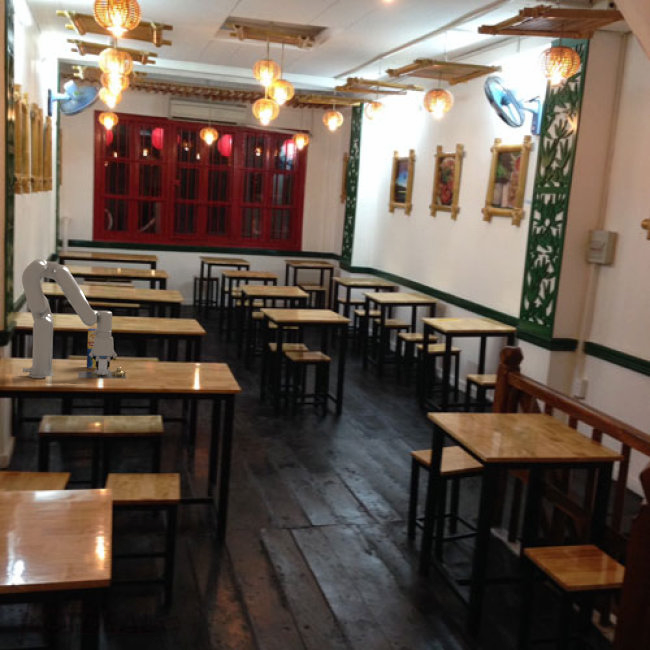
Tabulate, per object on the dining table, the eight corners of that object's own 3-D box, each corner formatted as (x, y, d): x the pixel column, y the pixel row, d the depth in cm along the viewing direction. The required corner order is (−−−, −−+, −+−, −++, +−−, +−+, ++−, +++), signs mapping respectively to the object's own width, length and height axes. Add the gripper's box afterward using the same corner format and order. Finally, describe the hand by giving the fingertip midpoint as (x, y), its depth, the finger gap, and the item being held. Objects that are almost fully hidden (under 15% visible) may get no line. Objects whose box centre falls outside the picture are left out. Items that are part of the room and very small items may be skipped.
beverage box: (107, 370, 425) (109, 331, 423) (86, 370, 423) (88, 330, 420) (107, 368, 432) (109, 329, 429) (87, 367, 429) (88, 328, 426)
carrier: (78, 380, 397) (78, 369, 396) (78, 373, 412) (78, 363, 411) (126, 380, 404) (126, 370, 404) (124, 374, 419) (125, 364, 419)
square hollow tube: (94, 374, 403) (95, 359, 402) (94, 371, 410) (94, 356, 409) (110, 374, 405) (111, 359, 404) (109, 371, 413) (110, 357, 412)
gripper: (87, 335, 399) (85, 369, 401) (120, 336, 404) (119, 370, 407) (87, 332, 406) (85, 366, 408) (120, 333, 411) (118, 367, 414)
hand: (102, 368), depth 408 cm, fingers closed on square hollow tube, 4 cm apart
